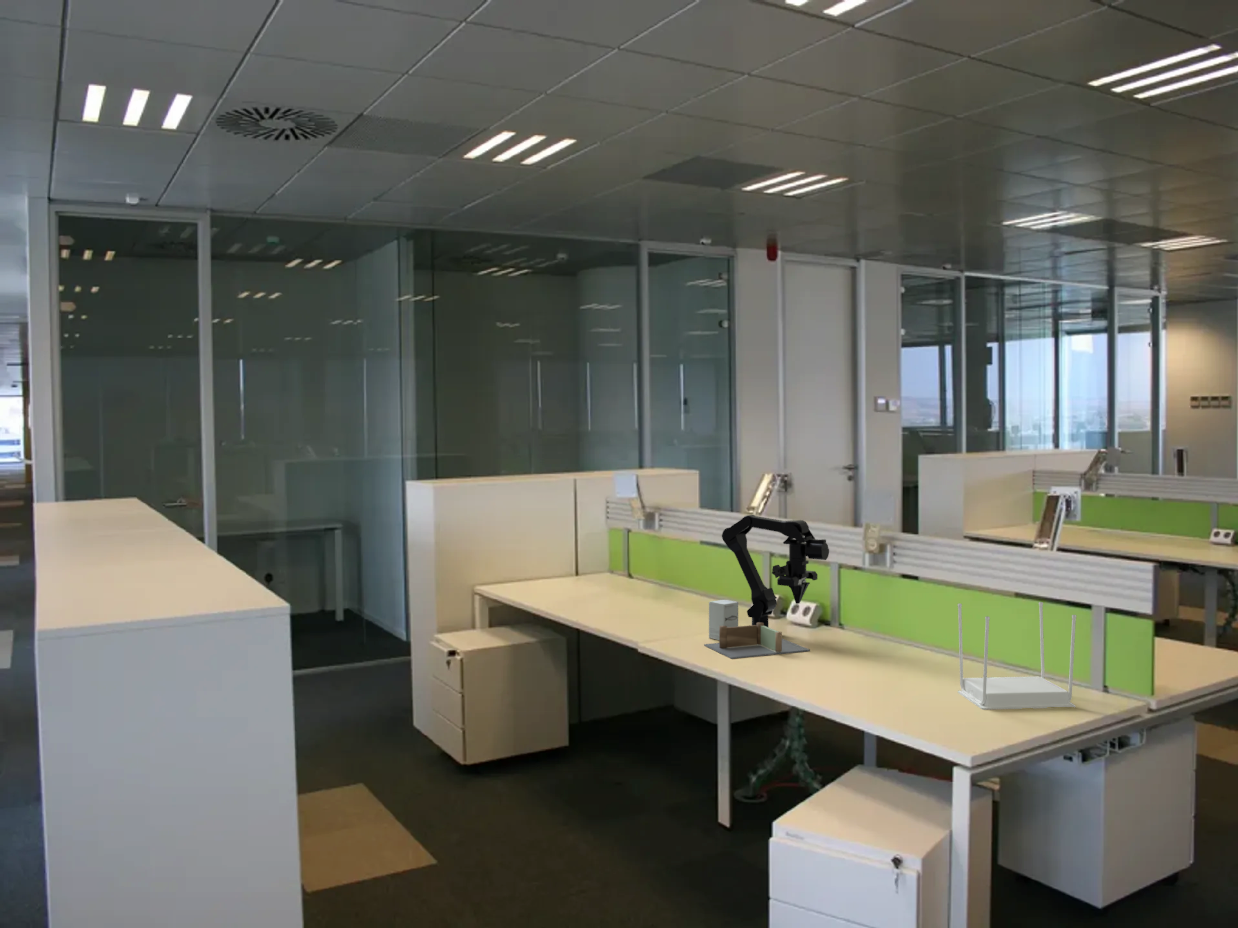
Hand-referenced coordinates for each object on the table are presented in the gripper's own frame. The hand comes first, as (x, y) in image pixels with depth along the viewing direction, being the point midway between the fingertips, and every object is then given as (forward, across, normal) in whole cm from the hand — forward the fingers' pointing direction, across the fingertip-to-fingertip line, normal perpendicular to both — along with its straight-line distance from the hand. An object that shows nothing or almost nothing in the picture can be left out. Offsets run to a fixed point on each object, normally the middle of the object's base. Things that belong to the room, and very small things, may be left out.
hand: (797, 603), depth 348 cm
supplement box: (+12, +14, -21) cm, 28 cm away
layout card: (+12, +21, -4) cm, 25 cm away
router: (+12, +35, +81) cm, 89 cm away
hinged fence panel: (+11, +21, +1) cm, 24 cm away
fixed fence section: (+12, +22, -9) cm, 27 cm away
